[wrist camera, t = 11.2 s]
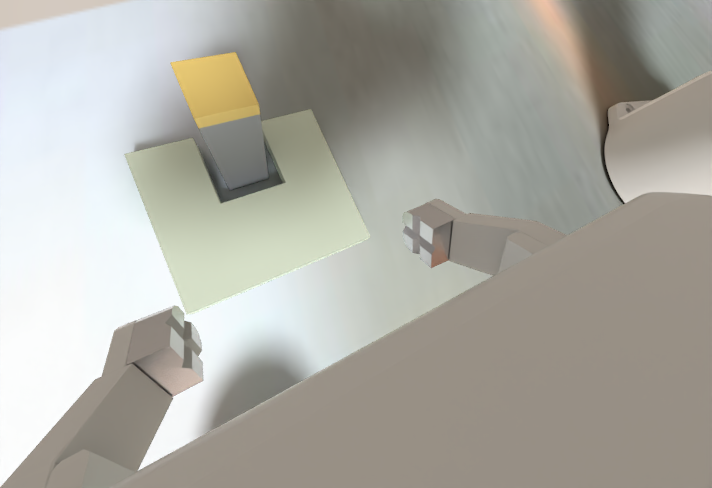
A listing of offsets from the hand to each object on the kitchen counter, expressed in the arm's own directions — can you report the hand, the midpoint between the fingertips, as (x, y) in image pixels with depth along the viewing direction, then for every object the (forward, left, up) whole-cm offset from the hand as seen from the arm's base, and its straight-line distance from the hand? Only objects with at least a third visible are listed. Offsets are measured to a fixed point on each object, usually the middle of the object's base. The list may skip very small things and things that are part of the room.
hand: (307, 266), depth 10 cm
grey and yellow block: (0, -11, -13) cm, 16 cm away
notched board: (0, -7, -13) cm, 14 cm away
